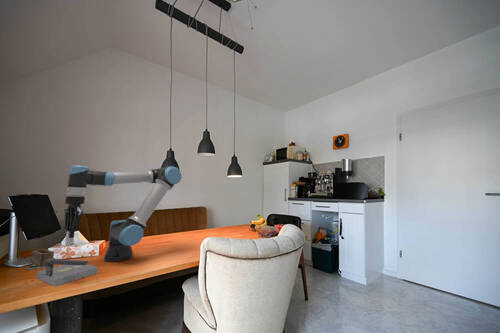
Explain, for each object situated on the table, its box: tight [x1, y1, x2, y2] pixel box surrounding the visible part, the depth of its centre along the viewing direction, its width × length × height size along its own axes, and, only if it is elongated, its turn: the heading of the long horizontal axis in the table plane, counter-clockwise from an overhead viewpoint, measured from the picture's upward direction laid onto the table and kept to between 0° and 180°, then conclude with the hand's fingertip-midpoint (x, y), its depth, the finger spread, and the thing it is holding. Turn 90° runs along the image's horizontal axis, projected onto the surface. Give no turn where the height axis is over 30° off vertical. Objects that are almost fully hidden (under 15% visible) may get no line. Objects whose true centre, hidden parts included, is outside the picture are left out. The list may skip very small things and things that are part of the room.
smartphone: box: [25, 264, 46, 271], centre depth 118 cm, size 8×15×1 cm, turn 29°
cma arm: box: [45, 257, 89, 266], centre depth 98 cm, size 19×3×2 cm, turn 87°
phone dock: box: [30, 248, 55, 267], centre depth 119 cm, size 5×12×7 cm, turn 63°
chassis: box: [35, 263, 99, 287], centre depth 105 cm, size 17×18×7 cm
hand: (68, 244), depth 105 cm, fingers closed
